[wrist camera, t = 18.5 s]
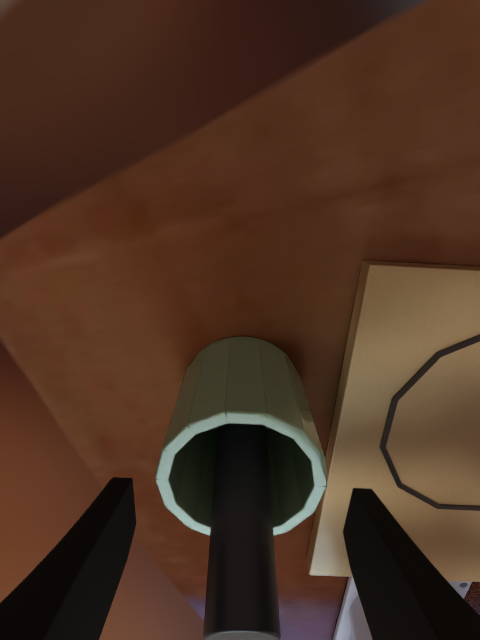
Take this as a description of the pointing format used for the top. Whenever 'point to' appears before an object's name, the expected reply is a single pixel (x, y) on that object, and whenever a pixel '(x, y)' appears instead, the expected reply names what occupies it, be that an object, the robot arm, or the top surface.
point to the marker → (241, 540)
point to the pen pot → (241, 408)
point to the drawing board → (409, 416)
